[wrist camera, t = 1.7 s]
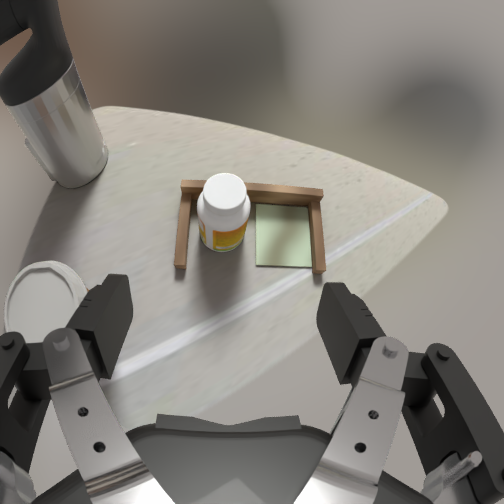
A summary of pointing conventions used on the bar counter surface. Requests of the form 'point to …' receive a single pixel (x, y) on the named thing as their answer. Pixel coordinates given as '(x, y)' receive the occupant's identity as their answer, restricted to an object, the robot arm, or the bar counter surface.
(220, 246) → the supplement bottle
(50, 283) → the disposable coffee cup
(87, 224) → the bar counter surface
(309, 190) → the bay
